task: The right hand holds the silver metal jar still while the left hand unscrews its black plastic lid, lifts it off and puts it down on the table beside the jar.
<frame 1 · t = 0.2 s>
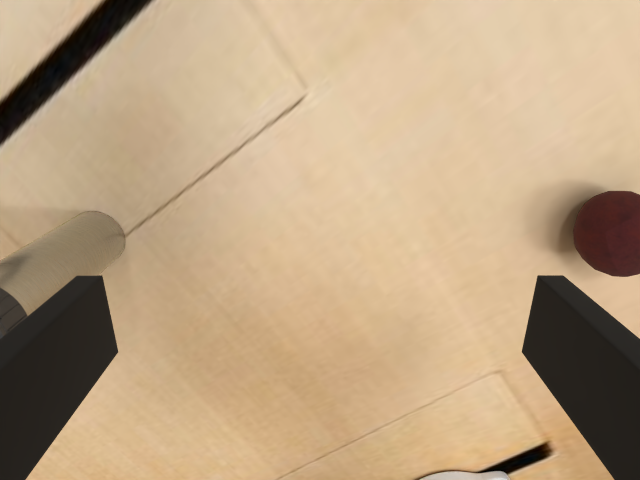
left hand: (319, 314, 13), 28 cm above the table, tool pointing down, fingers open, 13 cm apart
jar: (97, 237, 42), on the table
dark red round ball: (594, 219, 41), on the table
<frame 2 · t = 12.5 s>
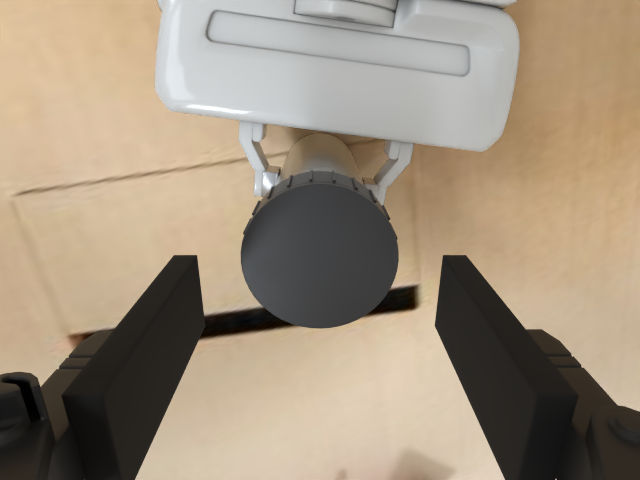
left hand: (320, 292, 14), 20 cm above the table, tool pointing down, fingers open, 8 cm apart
right hand: (318, 201, 28), fingers closed on jar, 5 cm apart
jar: (319, 168, 33), on the table, touching right hand
lid: (319, 257, 17), point 17 cm above the table, screwed on, not yet turned
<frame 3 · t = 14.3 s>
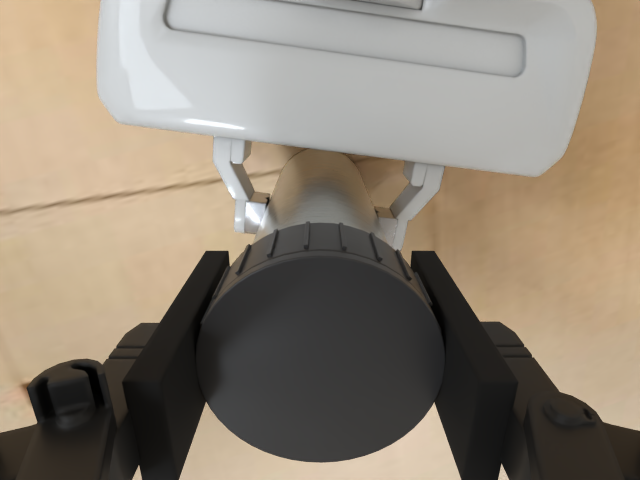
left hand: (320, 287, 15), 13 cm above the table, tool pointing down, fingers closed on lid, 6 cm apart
right hand: (318, 238, 21), fingers closed on jar, 5 cm apart
jar: (320, 189, 27), on the table, touching right hand
lid: (320, 361, 11), point 17 cm above the table, screwed on, not yet turned, touching left hand
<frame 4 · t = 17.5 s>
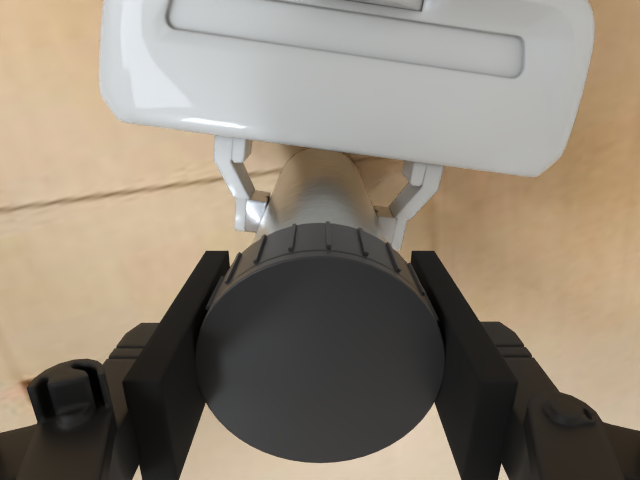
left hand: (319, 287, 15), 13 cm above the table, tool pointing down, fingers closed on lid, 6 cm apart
right hand: (318, 237, 22), fingers closed on jar, 5 cm apart
jar: (320, 189, 27), on the table, touching right hand
lid: (319, 362, 11), point 18 cm above the table, turned 105° so far, risen 0.2 cm, still on its thread, touching left hand
when the left hand's fingers open (0 cm above the table, at t = 31.2 s): lid drops 2 cm, point 2 cm above the table.
when the right hand's fingers open (6 cm above the table, at t = 32.3 s): jar stays where it is, on the table.
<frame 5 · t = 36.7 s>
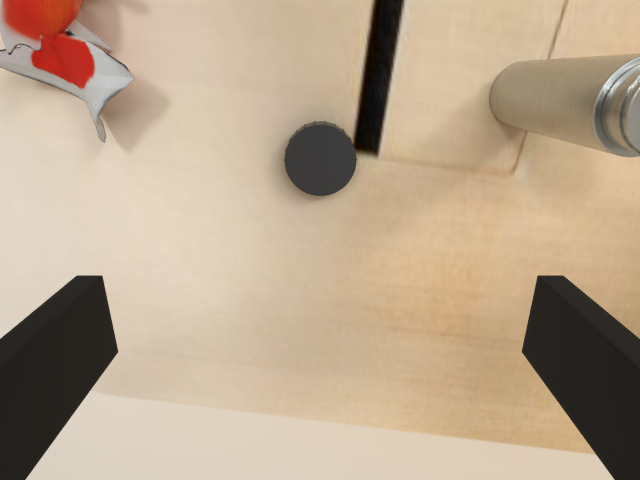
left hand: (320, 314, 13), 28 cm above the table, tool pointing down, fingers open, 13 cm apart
jar: (520, 94, 37), on the table
fish: (94, 43, 36), on the table
lid: (320, 160, 37), point 2 cm above the table, off its thread
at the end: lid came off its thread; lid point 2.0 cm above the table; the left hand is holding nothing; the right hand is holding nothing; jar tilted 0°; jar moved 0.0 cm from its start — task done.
